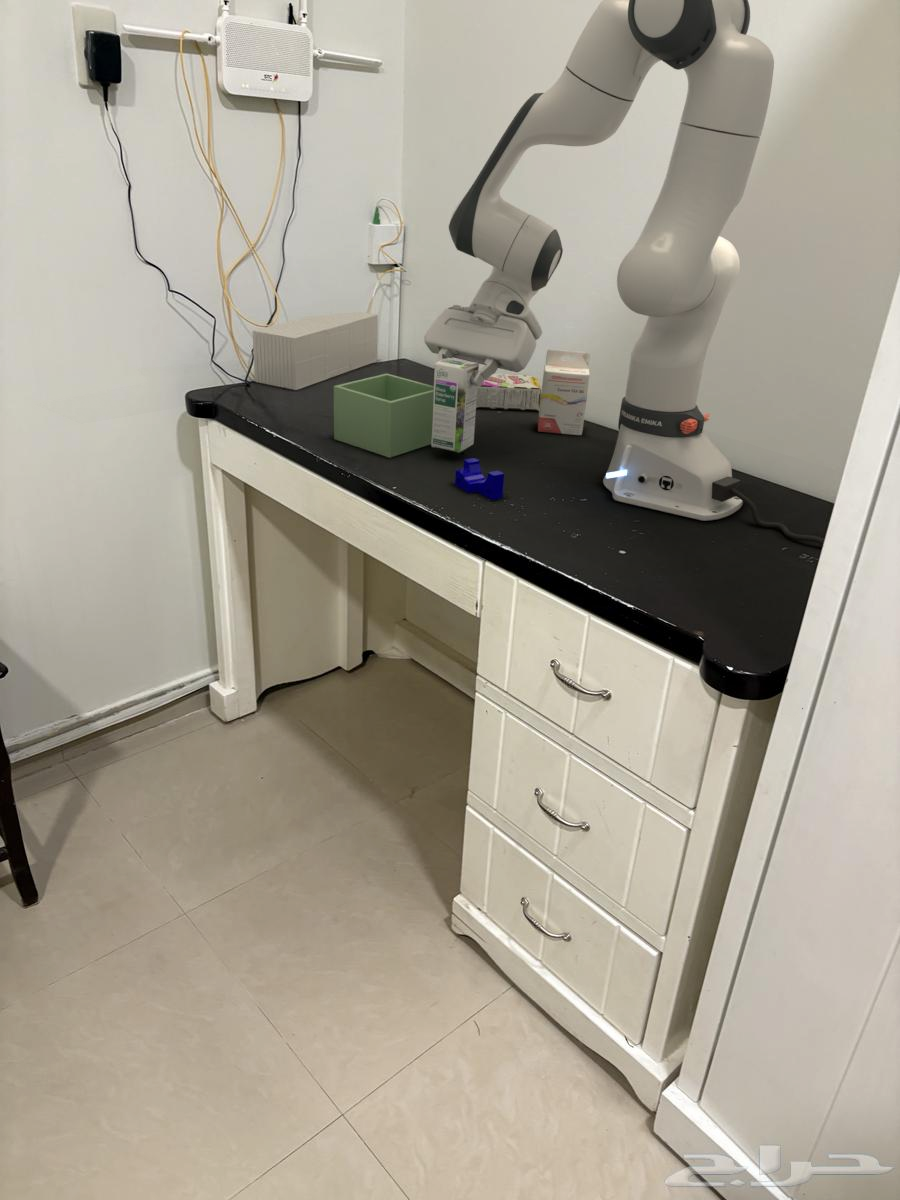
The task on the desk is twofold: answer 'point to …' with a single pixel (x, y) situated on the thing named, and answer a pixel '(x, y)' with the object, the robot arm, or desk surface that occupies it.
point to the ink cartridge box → (564, 392)
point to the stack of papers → (314, 348)
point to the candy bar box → (509, 392)
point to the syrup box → (454, 404)
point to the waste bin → (384, 414)
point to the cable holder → (479, 480)
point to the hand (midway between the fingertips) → (456, 379)
